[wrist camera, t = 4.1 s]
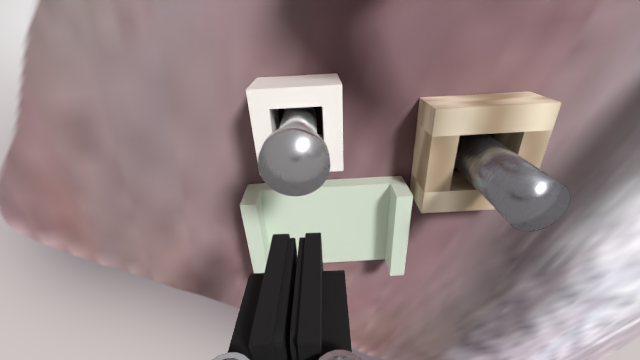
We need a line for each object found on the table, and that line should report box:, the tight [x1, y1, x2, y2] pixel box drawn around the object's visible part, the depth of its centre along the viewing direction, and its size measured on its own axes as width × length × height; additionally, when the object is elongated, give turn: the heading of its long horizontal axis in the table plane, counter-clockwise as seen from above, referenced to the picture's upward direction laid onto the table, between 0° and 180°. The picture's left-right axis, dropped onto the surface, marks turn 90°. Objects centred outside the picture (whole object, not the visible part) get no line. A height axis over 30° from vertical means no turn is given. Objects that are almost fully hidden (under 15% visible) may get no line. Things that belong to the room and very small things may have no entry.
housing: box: [246, 73, 343, 174], centre depth 26 cm, size 7×7×5 cm
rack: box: [240, 176, 413, 276], centre depth 32 cm, size 16×10×4 cm, turn 93°
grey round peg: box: [454, 134, 570, 231], centre depth 25 cm, size 4×4×11 cm
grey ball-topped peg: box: [258, 107, 330, 196], centre depth 23 cm, size 4×4×10 cm
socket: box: [410, 92, 562, 213], centre depth 28 cm, size 10×10×4 cm
